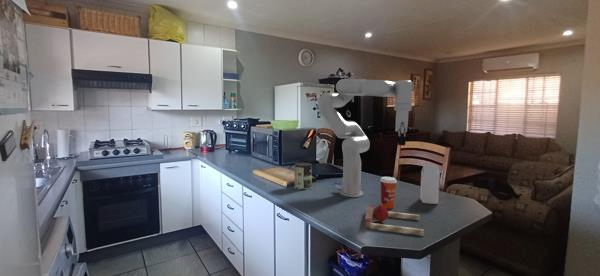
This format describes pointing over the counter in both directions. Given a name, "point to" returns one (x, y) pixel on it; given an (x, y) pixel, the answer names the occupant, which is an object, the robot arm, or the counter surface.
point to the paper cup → (388, 191)
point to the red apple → (381, 213)
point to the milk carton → (430, 184)
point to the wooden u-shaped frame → (389, 227)
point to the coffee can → (303, 175)
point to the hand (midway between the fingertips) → (401, 143)
